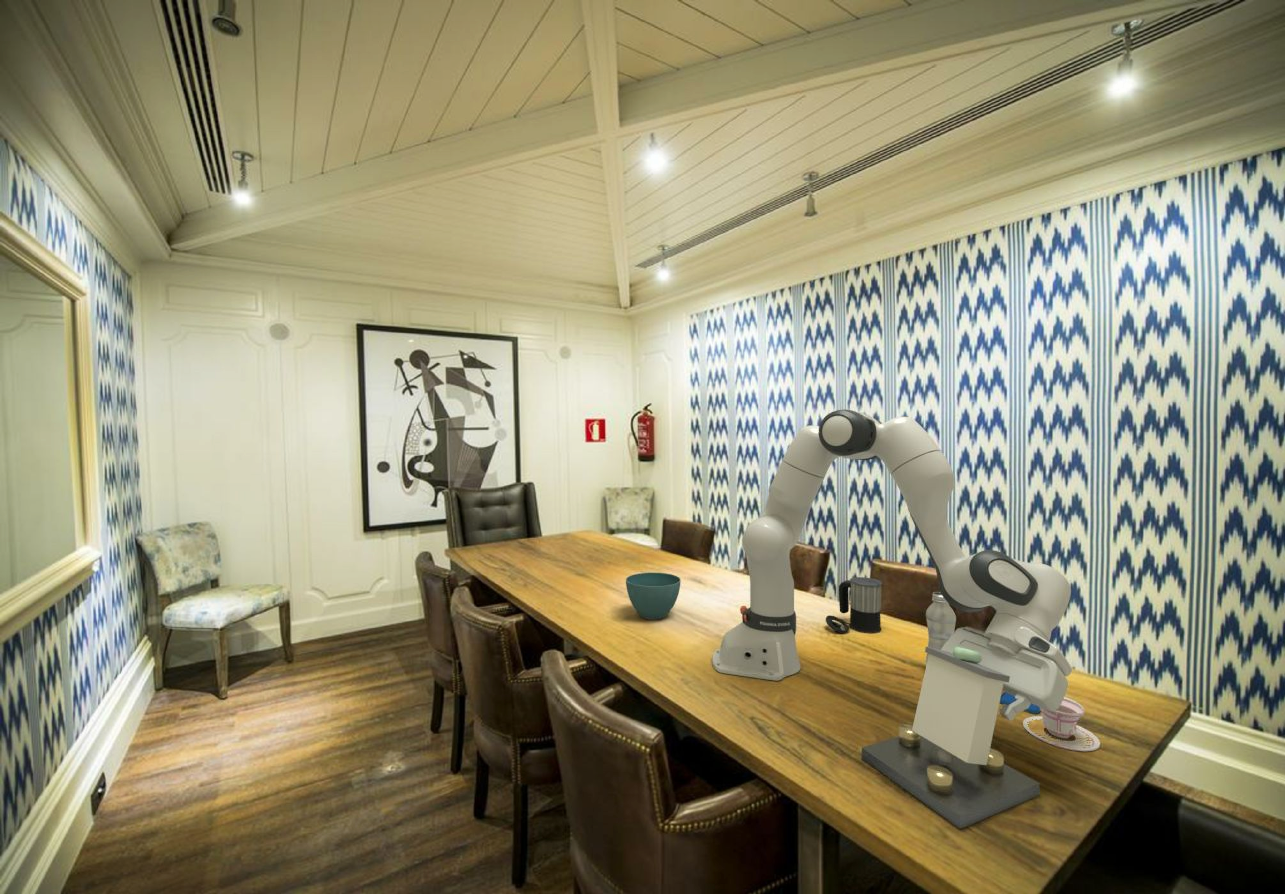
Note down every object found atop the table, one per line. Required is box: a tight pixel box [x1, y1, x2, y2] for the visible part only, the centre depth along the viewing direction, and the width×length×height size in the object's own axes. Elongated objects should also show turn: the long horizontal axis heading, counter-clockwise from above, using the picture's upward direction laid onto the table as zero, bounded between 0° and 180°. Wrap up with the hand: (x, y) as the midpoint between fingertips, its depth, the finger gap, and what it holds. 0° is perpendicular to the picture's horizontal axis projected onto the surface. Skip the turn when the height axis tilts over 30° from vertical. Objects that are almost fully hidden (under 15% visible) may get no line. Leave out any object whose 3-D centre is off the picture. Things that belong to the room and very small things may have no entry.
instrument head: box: [912, 646, 1010, 765], centre depth 92 cm, size 6×11×20 cm, turn 23°
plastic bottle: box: [925, 591, 957, 665], centre depth 130 cm, size 6×7×20 cm
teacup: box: [1022, 696, 1101, 753], centre depth 104 cm, size 12×12×6 cm
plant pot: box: [625, 572, 682, 621], centre depth 174 cm, size 18×18×12 cm
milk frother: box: [825, 576, 883, 634], centre depth 161 cm, size 14×16×15 cm
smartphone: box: [999, 691, 1041, 715], centre depth 118 cm, size 7×1×15 cm
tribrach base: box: [861, 723, 1041, 830], centre depth 91 cm, size 19×19×4 cm
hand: (978, 704), depth 94 cm, fingers open, 8 cm apart
